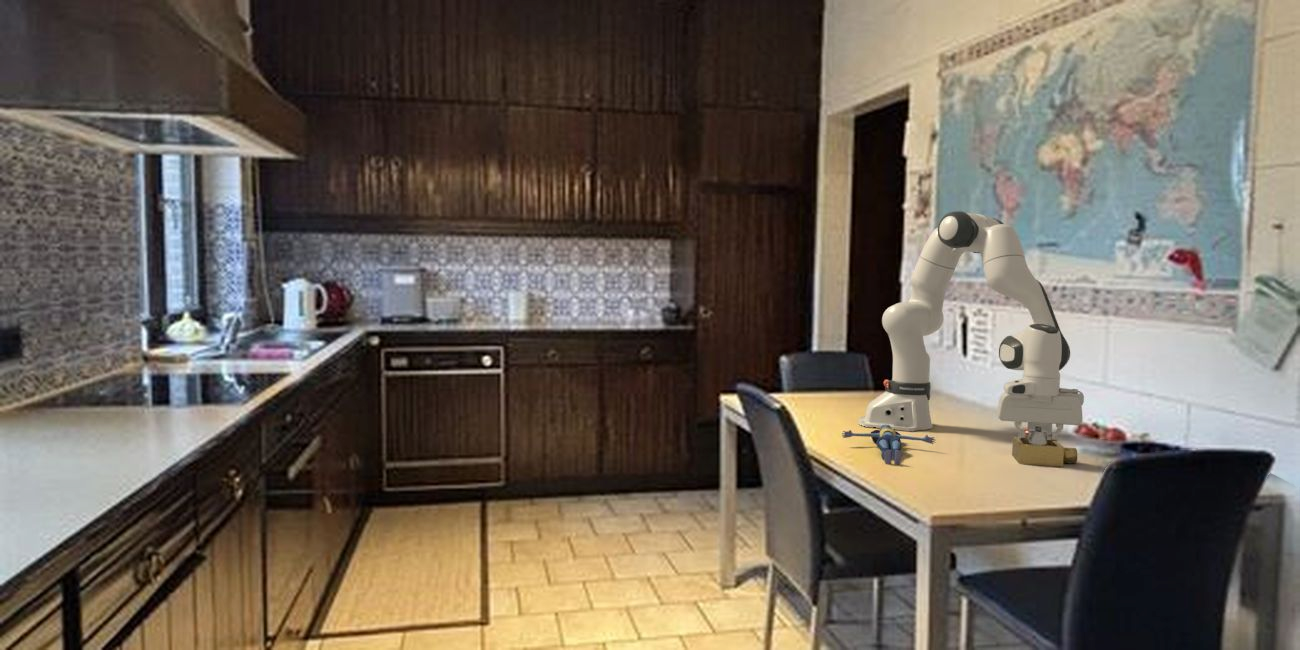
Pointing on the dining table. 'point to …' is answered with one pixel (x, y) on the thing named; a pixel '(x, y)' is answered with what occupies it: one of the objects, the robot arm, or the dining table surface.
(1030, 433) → the cylinder
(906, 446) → the dining table surface
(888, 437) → the figurine
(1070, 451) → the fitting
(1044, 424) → the skincare box
